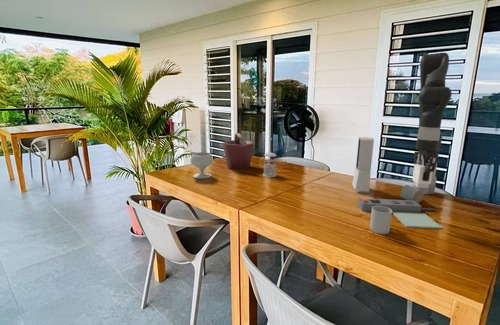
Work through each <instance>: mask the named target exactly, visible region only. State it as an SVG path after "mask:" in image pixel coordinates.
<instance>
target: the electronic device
mask: <svg viewBox="0 0 500 325" xmlns="http://www.w3.org/2000/svg"><path fill="white" fill-rule="evenodd" d="M357 142H358V143H357V153H356V164H355V170H354V174H353V178H352V187H353V189H354V191H355V192H356V193H364V194H369V193H370V186H371V185H370V183H371V174H372V172H371V170H372V162H373V151H374V143H375V138H374V137H367V136H366V137H364V136H363V137H362V136H360V137H358V141H357Z"/></svg>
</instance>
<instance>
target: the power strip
mask: <svg viewBox="0 0 500 325" xmlns="http://www.w3.org/2000/svg"><path fill="white" fill-rule="evenodd" d="M357 206H358V207H359V209H360V210H361V211H363V212H372V207H373V206H384V207H387V208H390V209H391V210H392V212H404V213H422V212H421V211H425V212H426V211H427V212H429V211H430V212H435V211H436V209H435V208H424V207H423V208H422V205H421V204H420V203H417V202H416V201H414V200H405V199H386V198H384V199H383V198H358V200H357Z"/></svg>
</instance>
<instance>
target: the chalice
mask: <svg viewBox="0 0 500 325" xmlns="http://www.w3.org/2000/svg"><path fill="white" fill-rule="evenodd" d="M213 161H214V160H213V156H212V154H211V153H210V152H202V151H201V152H200V151H199V152H194V153H192V154H191V158H190V164H191V165H192V166H194V167H196V168H198V169H199V170H200V173H196V174H193V175H192V177H193V178H194V179H199V180H200V179H208V178H211V177H213V176H212V174H211V173H206V172H204V171H205V170H206V169H207V168H208V167H210V166H211V165H212V164H213V163H214V162H213Z"/></svg>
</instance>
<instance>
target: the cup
mask: <svg viewBox="0 0 500 325" xmlns="http://www.w3.org/2000/svg"><path fill="white" fill-rule="evenodd" d="M392 216H393V214H392V210H391V209H390V208H387V207H384V206H373V207H372V211H371V213H370V224H369V229H370V231H371V232H373V233H375V234H378V235H387V234H389V233H390V230H391V223H392Z"/></svg>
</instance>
